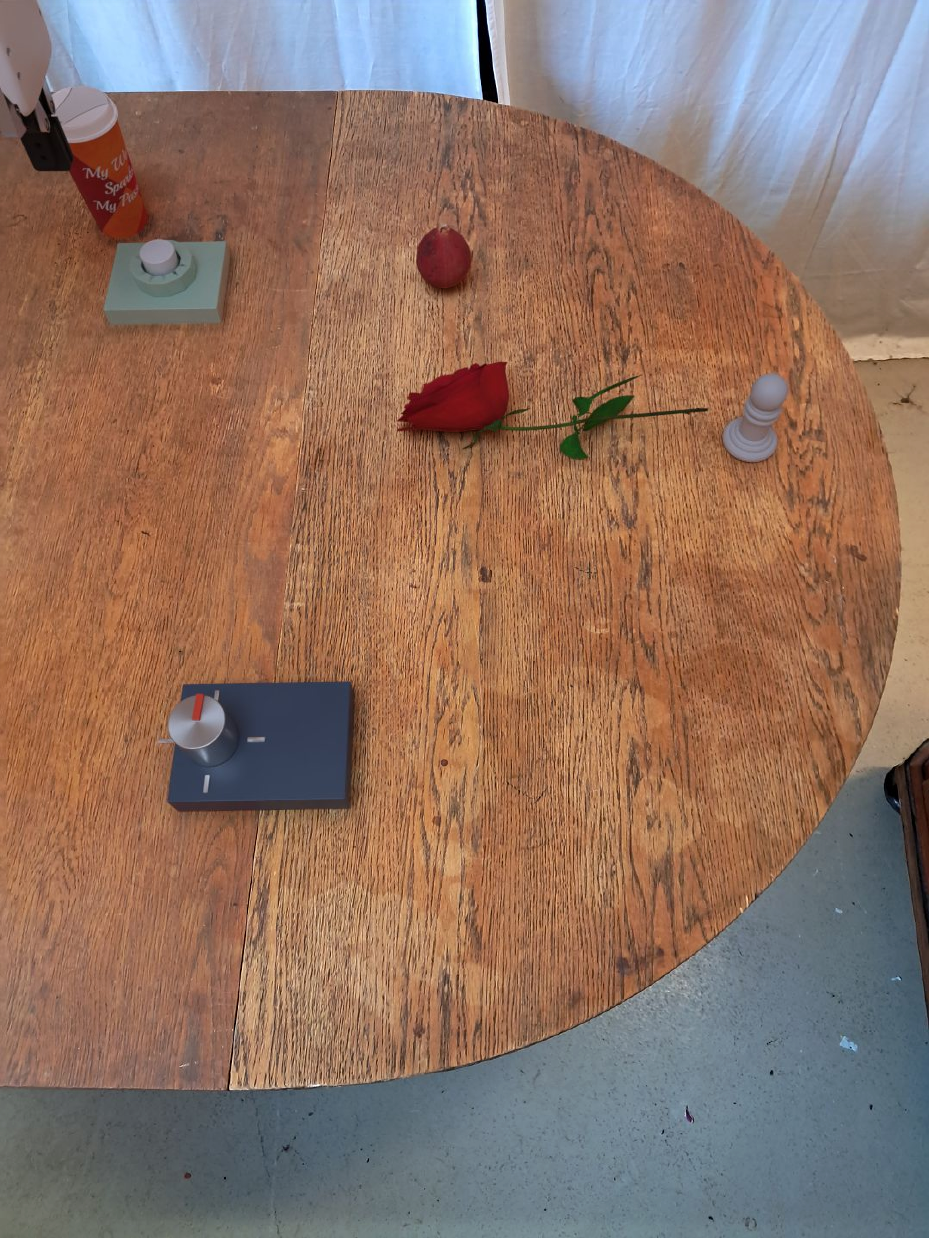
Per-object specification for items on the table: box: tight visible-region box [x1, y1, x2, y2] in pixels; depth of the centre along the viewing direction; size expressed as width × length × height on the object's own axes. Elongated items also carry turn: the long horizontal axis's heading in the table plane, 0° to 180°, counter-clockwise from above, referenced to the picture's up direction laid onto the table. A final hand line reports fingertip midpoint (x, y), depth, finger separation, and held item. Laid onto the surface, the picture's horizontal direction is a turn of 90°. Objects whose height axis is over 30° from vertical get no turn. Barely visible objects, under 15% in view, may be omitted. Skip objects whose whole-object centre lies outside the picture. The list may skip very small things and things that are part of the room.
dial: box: [167, 694, 239, 766], centre depth 70 cm, size 4×4×5 cm
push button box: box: [102, 239, 232, 326], centre depth 97 cm, size 12×10×4 cm
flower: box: [396, 361, 709, 460], centre depth 86 cm, size 9×9×30 cm
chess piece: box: [722, 372, 789, 463], centre depth 85 cm, size 5×5×9 cm
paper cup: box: [51, 85, 148, 239], centre depth 97 cm, size 8×8×14 cm
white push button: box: [140, 238, 179, 276], centre depth 95 cm, size 4×4×2 cm
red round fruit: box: [415, 222, 472, 289], centre depth 95 cm, size 6×6×8 cm
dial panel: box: [157, 680, 356, 813], centre depth 74 cm, size 15×10×3 cm, turn 91°
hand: (55, 165), depth 79 cm, fingers closed
